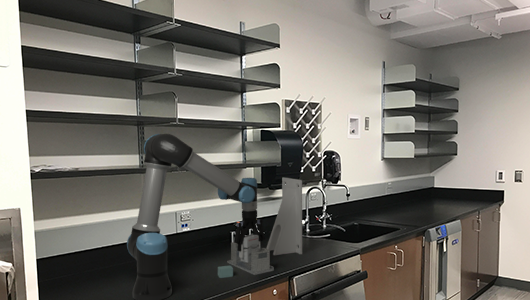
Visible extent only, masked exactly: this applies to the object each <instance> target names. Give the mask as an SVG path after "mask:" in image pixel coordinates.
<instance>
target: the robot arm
mask: <svg viewBox="0 0 530 300" xmlns="http://www.w3.org/2000/svg"><path fill="white" fill-rule="evenodd" d="M143 151H144V159H143V164H144V165H145V167H146V169H145V176H144V180H143V187H142V193H141V198H140V203H139V208H138V209H139V210H138V214H137V221H136V223H135V224H134V225H132V229H131V233H130V235H129V236H128V238H127V240H126V247H127V250H128V253H129V254H130V256H131V257H132V258H134V260H136V279H135V283H134V286H133V288H132V299H134V300H165V299H167V298H169V297H170V296H171V295H172V294H173V286H172V284H171V281H170V279H169V275H168V239H167V236H166V235H164V234H162V233H160V232H161V228H160V227H159V226H158V224H159V218H160V212H161V208H162V207H161V206H162V200H163V195H164V189H165V183H166V177H167V172H168V170H169V169H171V168H172V165H174V166H176V167H177V168H179V169H181V168H184V169H186V170H187V171H189V172H190V173H192V174H194V175H195V176H197V177H199V178H200V179H201V180H203V181H205V182H207V183H208V184H210V185H212V186H213V187H215V188H217V196H218V198H219V199H220V200H225V201H227V200H231V201H235V202H239V203H241V219H242V220H241V221H240V222H238V221H237V222H236V224H235V225H236V229H235V230H236V231H235V234H234V235H235V236H234V239H233V242H234V243H236V244H238V251H239V257H240V258H243V244H242V242H243V240H244V237H245V236H247V235H246V234H247V232H249V230H252V231H253V233H254V234H253V235H258V236H259V248H262V242H263V241H264V240H265V239H266V236H265V231H264V226H263V219H260V218H259V219H258V210H257V209H258V180H257V178H255V177H243V178H241V181H239V180H237V179H236V178H235V177H233V176H231V175H230V174H229V173H227V172H225V171H224V170H223V169H221V168H219V167H218V166H216V165H215V164H213V163H211V162H210V161H208V160H207V159H205V158H203V157H202V156H200V155H199V154H197V153H196V152H194V148H193V147H191V146H190V145H188V144H187V143H185V142H184V141H183V140H181V139H180V138H178V137H177V136H175V135H173V134H171V133H156V134H152V135H151V136H149V137H148V138H147V139H146V141H145V142H144V145H143Z"/></svg>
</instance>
